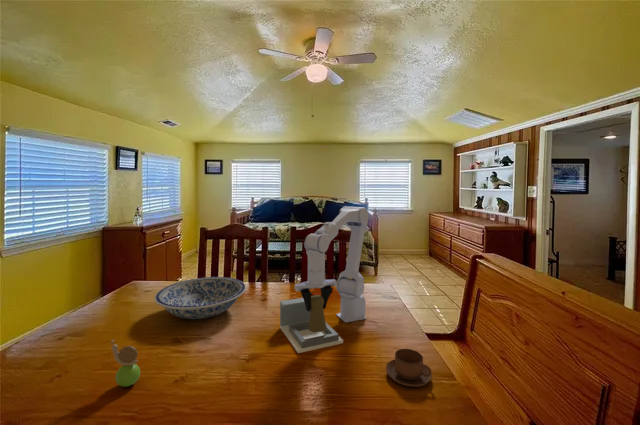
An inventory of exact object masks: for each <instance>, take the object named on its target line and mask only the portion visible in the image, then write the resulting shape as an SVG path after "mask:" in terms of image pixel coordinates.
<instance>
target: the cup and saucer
mask: <svg viewBox="0 0 640 425" xmlns="http://www.w3.org/2000/svg"><path fill="white" fill-rule="evenodd" d="M385 370H386V373H387V375H388V376H389V378H390V379H391V380H393V381H394V382H396V383H397V384H400V385H403V386H405V387H412V388H413V387H414V388H415V387H416V388H417V387H422V386H425V385H427V384H428V383H430V382H431V380H432V369H431V368H430V366H428V365H426V364H424V356H423V355H422V354H421V353H420V352H418V351H417V350H414V349H412V348H411V349H410V348H401V349H397V350H396V351H395V352H394V359H392V360H390V361H388V363H386V366H385Z"/></svg>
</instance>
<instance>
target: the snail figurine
mask: <svg viewBox="0 0 640 425" xmlns="http://www.w3.org/2000/svg"><path fill="white" fill-rule="evenodd" d="M114 342H115V339H112V341H111V342H110V344H112V345H111V350H112V353H113V356H114V357H113V358H114V360H115V361H116V363H118V364H119V365H121V367H119V369H118V370H117V371H116V373H115V381H116V382H115V383H116V384H117V385H118V386H120V387H124V388H127V387H130V386H133V385H134V384H136V383H137V382H138V380H139V378H140V375H141V369H140V366H139V365H138V364H137V363H138V362H139V359H137V358H138V353H139V352H138V350H137V348H136V347H134V346H133V345H126V346H123V347H122V348H121V349H120V350H119V345H118V344H116V343H114Z"/></svg>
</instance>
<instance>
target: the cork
mask: <svg viewBox="0 0 640 425" xmlns="http://www.w3.org/2000/svg"><path fill="white" fill-rule="evenodd" d="M323 304H324V298H323V297H322V296H321V294H315V295H314V294H313V295H311V301H310V306H311V308H310V319H309V331H312V332H322V331H325V330H326V329H327V328H326V323H327V322H326V317H325V316H326V315H325V311H324V310H325V309H323Z"/></svg>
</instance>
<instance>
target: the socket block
mask: <svg viewBox="0 0 640 425" xmlns="http://www.w3.org/2000/svg"><path fill="white" fill-rule="evenodd" d="M310 308H311V306H310ZM309 319H310V311H307V310H306V306H305V302H304V299H303V297H300V298H293V299H286V300H280V301H279V328H280V330H281V332H282V333H283V334H284V335H285V337H286V338H287V339H288V341H289V343H290V344H291V345H292V346H293V349H294V350H295V351H296V353H297V354H300V353H306V352H310V351H314V350H319V349H324V348H327V347H332V346H337V345H341V344H344V339H343V338H342V337H341V336H340V335H339V333H338V332H337V331H336V330H335V329H333V328H332V327H331V326H330V325H329V324H328V323H327V322H326V328H327V329H326V330H325V331H322V332H312V331H309Z"/></svg>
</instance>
